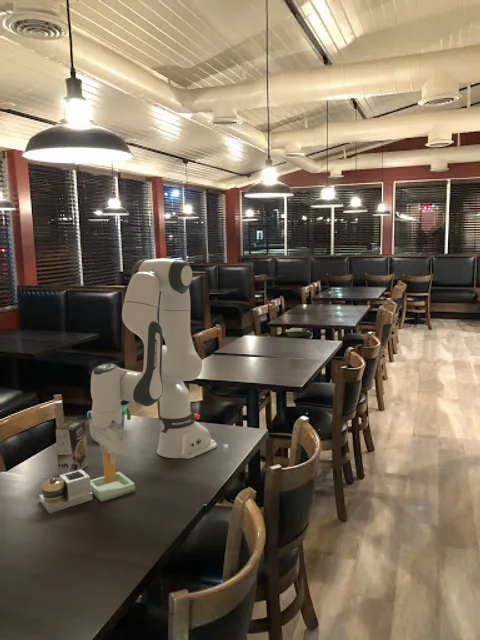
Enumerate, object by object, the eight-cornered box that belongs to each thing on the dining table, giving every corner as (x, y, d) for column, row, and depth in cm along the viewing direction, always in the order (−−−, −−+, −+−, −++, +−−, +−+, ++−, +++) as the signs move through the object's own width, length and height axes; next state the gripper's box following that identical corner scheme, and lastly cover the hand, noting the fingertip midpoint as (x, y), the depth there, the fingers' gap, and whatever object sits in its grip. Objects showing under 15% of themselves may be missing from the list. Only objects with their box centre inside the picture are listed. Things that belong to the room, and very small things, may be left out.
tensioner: (81, 488, 168) (80, 464, 167) (92, 499, 161) (91, 474, 160) (39, 501, 161) (37, 476, 159) (48, 513, 153) (46, 487, 152)
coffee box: (75, 476, 177) (72, 430, 175) (57, 475, 179) (54, 428, 176) (88, 465, 186) (85, 420, 184) (71, 463, 187) (68, 419, 185)
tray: (119, 478, 175) (119, 471, 175) (134, 491, 166) (134, 483, 166) (87, 488, 169) (87, 481, 168) (101, 501, 160) (101, 494, 159)
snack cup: (101, 440, 209) (100, 415, 207) (90, 433, 217) (88, 409, 215) (137, 431, 218) (136, 407, 217) (125, 424, 227) (124, 401, 225)
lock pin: (112, 476, 169) (111, 449, 168) (117, 480, 166) (116, 452, 165) (102, 479, 167) (101, 452, 166) (107, 483, 164) (105, 455, 163)
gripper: (131, 423, 158) (133, 468, 160) (103, 407, 174) (105, 447, 176) (111, 428, 154) (113, 474, 156) (84, 411, 170) (87, 452, 172)
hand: (109, 459), depth 166 cm, fingers closed on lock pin, 3 cm apart
